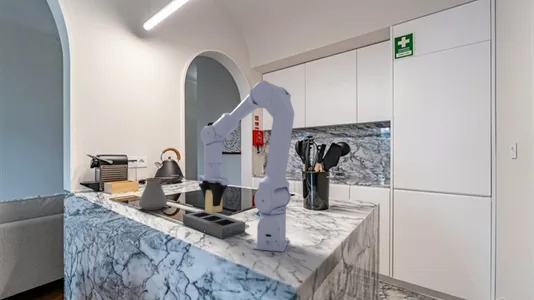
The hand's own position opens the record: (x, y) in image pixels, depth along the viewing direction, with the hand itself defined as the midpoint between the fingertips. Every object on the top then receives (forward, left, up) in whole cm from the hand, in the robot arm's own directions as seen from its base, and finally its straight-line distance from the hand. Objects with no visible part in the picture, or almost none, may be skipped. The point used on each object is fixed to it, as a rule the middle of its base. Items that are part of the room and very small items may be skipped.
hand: (212, 204), depth 83 cm
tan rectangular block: (0, 0, -2) cm, 2 cm away
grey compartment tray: (0, 0, -8) cm, 8 cm away
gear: (+19, -14, -8) cm, 25 cm away
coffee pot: (+18, +32, -8) cm, 37 cm away
